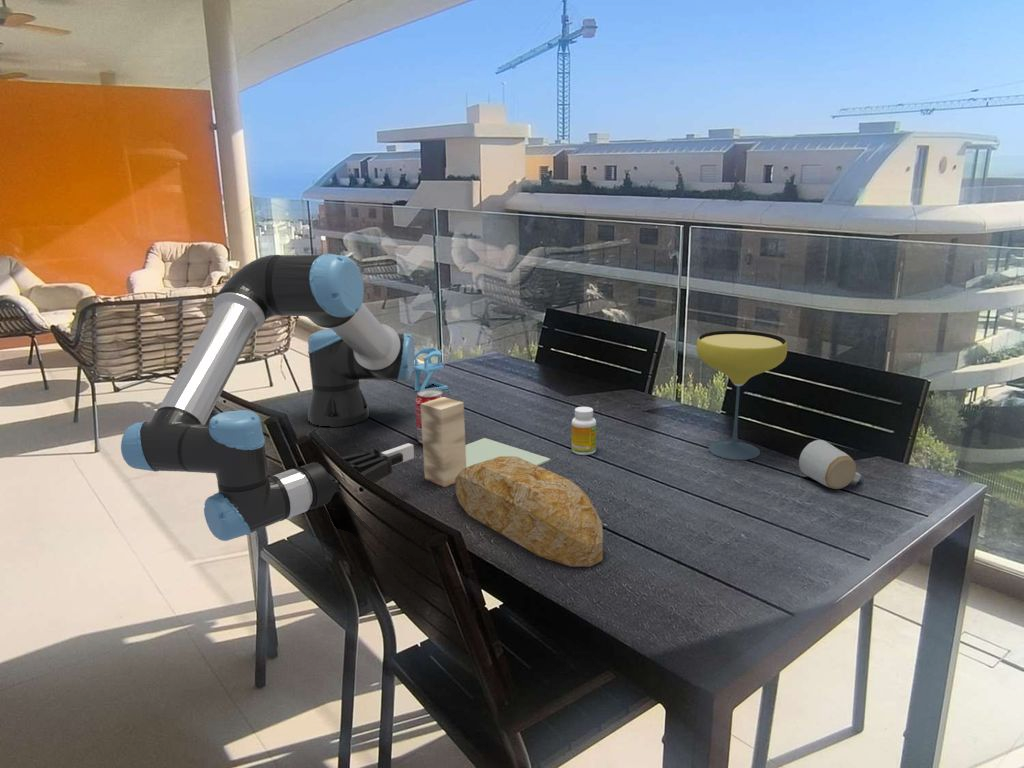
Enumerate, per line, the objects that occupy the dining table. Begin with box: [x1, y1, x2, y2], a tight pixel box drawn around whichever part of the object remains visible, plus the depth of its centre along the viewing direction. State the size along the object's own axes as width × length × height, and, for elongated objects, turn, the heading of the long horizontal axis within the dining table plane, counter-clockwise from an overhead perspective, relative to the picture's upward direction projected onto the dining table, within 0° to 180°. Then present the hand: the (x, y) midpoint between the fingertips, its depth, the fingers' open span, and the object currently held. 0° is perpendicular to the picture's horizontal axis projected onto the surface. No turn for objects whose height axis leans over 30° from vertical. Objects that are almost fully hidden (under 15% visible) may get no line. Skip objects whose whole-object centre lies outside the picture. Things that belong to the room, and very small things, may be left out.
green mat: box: [465, 437, 551, 467], centre depth 154 cm, size 20×16×1 cm
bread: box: [454, 456, 604, 567], centre depth 124 cm, size 36×11×10 cm, turn 39°
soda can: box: [414, 388, 445, 445], centre depth 164 cm, size 7×7×12 cm
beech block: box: [421, 396, 466, 488], centre depth 143 cm, size 6×6×16 cm
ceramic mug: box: [798, 439, 862, 490], centre depth 139 cm, size 11×8×8 cm
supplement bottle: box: [571, 406, 597, 456], centre depth 157 cm, size 5×5×10 cm
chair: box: [413, 347, 449, 392], centre depth 206 cm, size 8×8×12 cm
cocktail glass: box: [696, 330, 788, 461], centre depth 153 cm, size 18×18×25 cm
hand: (411, 450), depth 137 cm, fingers closed
